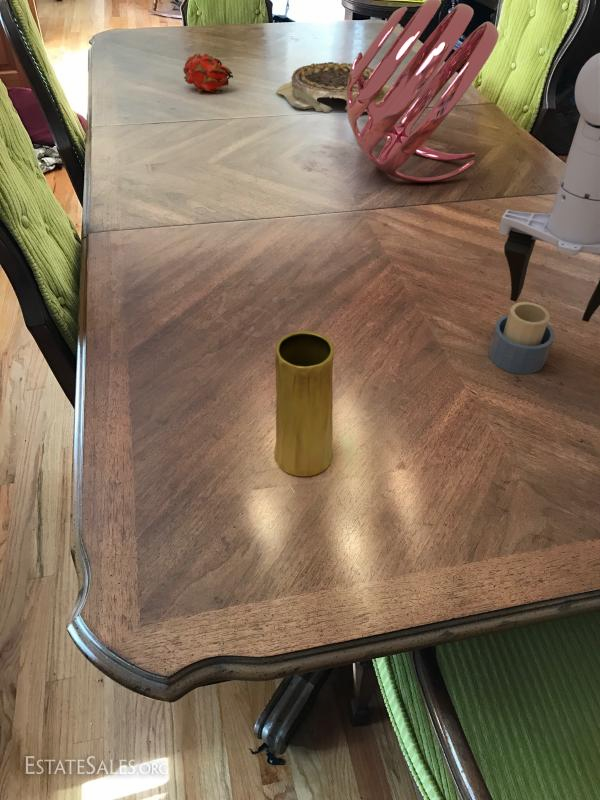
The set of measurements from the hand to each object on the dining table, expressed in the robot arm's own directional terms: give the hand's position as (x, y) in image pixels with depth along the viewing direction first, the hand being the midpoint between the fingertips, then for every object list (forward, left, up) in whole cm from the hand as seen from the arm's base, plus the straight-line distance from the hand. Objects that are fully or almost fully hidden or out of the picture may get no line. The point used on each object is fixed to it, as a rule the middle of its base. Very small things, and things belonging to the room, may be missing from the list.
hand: (550, 306), depth 67 cm
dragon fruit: (+91, -64, -10) cm, 112 cm away
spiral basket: (+34, -47, -10) cm, 59 cm away
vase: (+17, +25, -10) cm, 32 cm away
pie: (+63, -76, -10) cm, 99 cm away
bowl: (+2, -2, -9) cm, 10 cm away
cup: (+2, -2, -9) cm, 9 cm away
